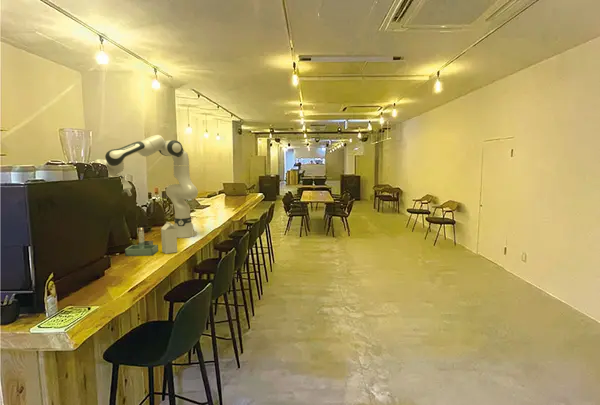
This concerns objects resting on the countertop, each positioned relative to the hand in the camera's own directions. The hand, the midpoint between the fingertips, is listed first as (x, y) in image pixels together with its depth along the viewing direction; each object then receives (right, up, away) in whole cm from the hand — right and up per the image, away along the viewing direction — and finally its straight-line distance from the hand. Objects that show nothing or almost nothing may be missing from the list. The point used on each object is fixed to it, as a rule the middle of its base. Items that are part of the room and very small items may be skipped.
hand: (125, 196), depth 234 cm
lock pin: (+13, -34, -6) cm, 37 cm away
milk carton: (+29, -35, -2) cm, 46 cm away
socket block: (+11, -34, +3) cm, 36 cm away
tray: (+13, -35, -6) cm, 38 cm away
